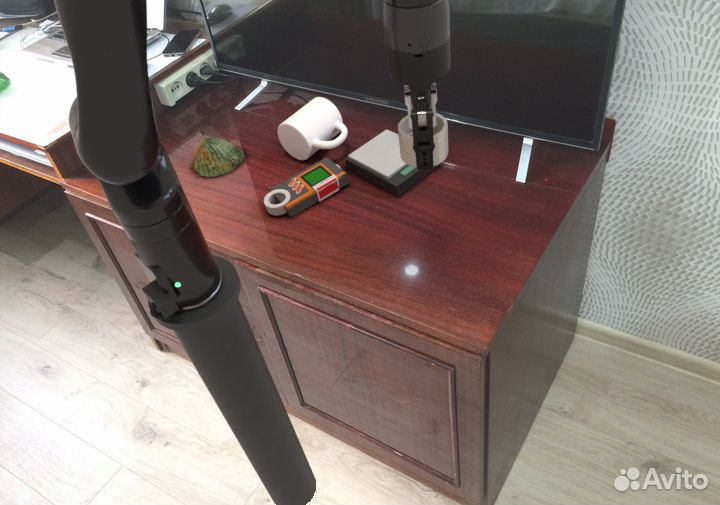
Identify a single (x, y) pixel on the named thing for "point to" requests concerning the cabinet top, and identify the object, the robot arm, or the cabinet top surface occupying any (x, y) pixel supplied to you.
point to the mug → (312, 129)
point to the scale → (385, 164)
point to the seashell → (216, 157)
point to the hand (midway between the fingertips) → (424, 151)
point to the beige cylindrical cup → (438, 134)
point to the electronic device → (305, 188)
